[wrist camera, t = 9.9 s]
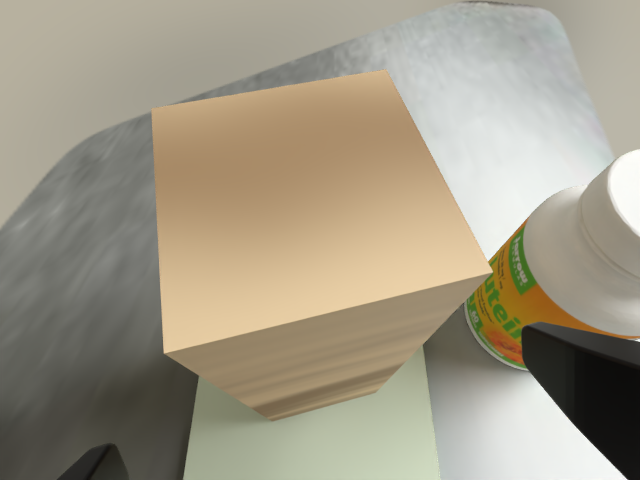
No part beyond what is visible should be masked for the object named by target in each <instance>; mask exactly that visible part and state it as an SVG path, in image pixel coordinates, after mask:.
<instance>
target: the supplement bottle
mask: <svg viewBox="0 0 640 480" xmlns="http://www.w3.org/2000/svg"><path fill="white" fill-rule="evenodd" d="M488 263H489V265H490V267H491V269H492V271H493V273H492V274H491V275H490V276H489V277H488V278H487V279H486V280H485V281H484V282H483V283H482V284H481V285H480V286H479V287H478V288H477V289H476V290H475V291H474V292H473V293H472V294H471V295H470V297H469V298H468V299H467V300H466V301H465V302H464V308H465V316H466V320H467V323H468V325H469V328H470V330H471V332H472V333H473V335H474V337H475V338H476V340H477V341H478V342H479V344H480V345H481V346H482V347H483V348H484V349H485V350H486V351H487V352H488V353H489V354H491V355H492V356H493V357H495V358H496V359H498V360H499V361H501V362H503V363H504V364H506V365H509V366H511V367H514V368H517V369H521V370H526V371H529V370H528V369H527V368H526V366H525V364H524V362H523V359H522V346H521V330H522V327H524V326H525V325H528V324H531V323H535V322H546V323H551V324H555V325H560V326H565V327H570V328H575V329H580V330H585V331H589V332H594V333H599V334H604V335H609V336H614V337H619V338H623V339H628V340H633V341H635V340H638V339H640V150H634V151H631V152H629V153H626V154H624V155H622V156H620V157H619V158H617V159H616V160H614V161H613V162H612V163H611V164H610V165H609V166H608V167H607V168H606V169H605V170H603V171H602V172H601V173H600V174H599V175H598V176H597V177H596V178H595V179H593V180H592V182H591V183H590V184H589V185H582V186H576V187H571V188H568V189H565V190H562V191H560V192H558V193H556V194H554V195H552V196H551V197H549V198H548V199H546V200H545V201H544V202H543V203H542V204H541V205H540V206H539V207H538V208H537V209H535V210H534V211H533V212H532V214H531V215H530V216H529V217H528V218H527V219H526V220H525V221H524V223H523V224H522V225H521V226H520V227H519V228H518V229H517V230H516V232H515V233H514V234H513V235H512V236H511V237H510V238H509V239H508V240H507V241H506V243H505V244H504V245H503V246H502V247H501V248H500V249H499V250H498V251H497V252H496V254H495V255H494V256H493V257H492V258H491V259H490V260H489V261H488Z"/></svg>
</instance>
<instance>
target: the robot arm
mask: <svg viewBox="0 0 640 480" xmlns="http://www.w3.org/2000/svg"><path fill="white" fill-rule="evenodd" d="M521 346H522V359H523V362H524V364H525V366H526V368H527V369H528V370H529V372H530V373H531V374H532V375H533V376H534V378H535V379H536V380H537V381H538V382H539V384H540V385H541V386H542V387H543V388H544V390H545V391H546V392H547V393H548V394H549V396H550V397H551V398H552V399H553V401H554V402H555V403H556V404H557V405H558V407H559V408H560V409H561V410H562V411H563V413H564V414H565V415H566V416H567V417H568V418H569V420H570V421H571V422H572V423H573V424H574V425H575V426H576V427H577V428H578V430H579V431H580V432H581V433H582V434H583V435H584V436H585V437H586V438H587V439H588V440H589V441H590V442H591V443H592V444H593V445H594V446H595V447H596V448H597V449H598V450H599V451H600V452H601V453H602V454H603V455H604V456H605V457H606V458H607V459H608V460H609V461H610V462H611V463H612V464H613V465H614V466H615V467H616V468H617V469H618V470H619V471H620V472H621V473H622V474H623V475H624V476H625V478H626V479H627V480H640V342H638V341H633V340H628V339H623V338H619V337H614V336H609V335H604V334H599V333H594V332H589V331H585V330H580V329H575V328H570V327H565V326H560V325H555V324H551V323H546V322H535V323H531V324H528V325H525V326H524V327H522V330H521ZM57 480H129V475H128V472H127V469H126V467H125V465H124V462H123V460H122V457H121V455H120V453H119V450H118V448H117V446H116V445H115V444H113V443H108V444H105V445H101V446H98V447H94V448H92V449H90V450H89V451H87V452H86V453H85V454H84V455H83V456H82V457H81V458H80V459H79V460H78V461H77V462H75V463H74V464H73V465H72V466H71V467H70V468H69V469H68V470H67V471H66V472H65V473H63V474H62V475H61V476H60V477H59V478H58V479H57Z"/></svg>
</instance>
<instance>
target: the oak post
mask: <svg viewBox="0 0 640 480" xmlns="http://www.w3.org/2000/svg"><path fill="white" fill-rule="evenodd" d="M152 129H153V149H154V169H155V188H156V208H157V228H158V247H159V267H160V287H161V307H162V326H163V346H164V354H165V355H167V356H169V357H170V358H172V359H173V360H175V361H177V362H178V363H180V364H181V365H183V366H185V367H186V368H188V369H189V370H191V371H192V372H194V373H196V374H197V375H199V376H200V377H202V378H204V379H205V380H207V381H208V382H210V383H212V384H213V385H215V386H216V387H218V388H220V389H221V390H223V391H224V392H226V393H228V394H229V395H231V396H232V397H234V398H235V399H237V400H239V401H240V402H242V403H243V404H245V405H247V406H248V407H250V408H251V409H253V410H255V411H256V412H258V413H259V414H261V415H263V416H264V417H266V418H267V419H269V420H271V421H272V422H273V421H276V420H280V419H284V418H287V417H291V416H294V415H298V414H302V413H305V412H309V411H312V410H316V409H320V408H323V407H327V406H330V405H334V404H337V403H341V402H345V401H348V400H352V399H355V398H359V397H363V396H366V395H370V394H373V393H376V392H377V391H378V390H379V389H380V388H381V387H382V386H383V385H384V384H385V383H386V382H387V381H388V379H389V378H390V377H391V376H392V375H393V374H394V373H395V372H396V371H397V370H398V369H399V368H400V367H401V366H402V365H403V364H404V363H405V362H406V361H407V360H408V359H409V358H410V357H411V356H412V355H413V354H414V353H415V352H416V351H417V350H418V349H419V348H420V347H421V346H422V345H423V344H424V343H425V342H426V341H427V340H428V339H429V337H430V336H431V335H432V334H433V333H434V332H435V331H436V330H437V329H438V328H439V327H440V326H441V325H442V324H443V323H444V322H445V321H446V320H447V319H448V318H449V317H450V316H451V315H452V314H453V313H454V312H455V311H456V310H457V309H458V308H459V307H460V306H461V305H462V304H463V303H464V302H465V301H466V300H467V299H468V298H469V297H470V295H471V294H472V293H473V292H474V291H475V290H476V289H477V288H478V287H479V286H480V285H481V284H482V283H483V282H484V281H485V280H486V279H487V278H488V277H489V276H490V275H491V274H492V273H493V271H492V269H491V267H490V265H489V263H488V261H487V259H486V258H485V256H484V254H483V252H482V250H481V248H480V246H479V244H478V242H477V240H476V239H475V237H474V235H473V233H472V231H471V229H470V227H469V225H468V223H467V221H466V220H465V218H464V216H463V214H462V212H461V210H460V208H459V206H458V204H457V203H456V201H455V199H454V197H453V195H452V193H451V191H450V189H449V187H448V185H447V184H446V182H445V180H444V178H443V176H442V174H441V172H440V170H439V168H438V166H437V165H436V163H435V161H434V159H433V157H432V155H431V153H430V151H429V149H428V148H427V146H426V144H425V142H424V140H423V138H422V136H421V134H420V132H419V130H418V129H417V127H416V125H415V123H414V121H413V119H412V117H411V115H410V113H409V111H408V110H407V108H406V106H405V104H404V102H403V100H402V98H401V96H400V94H399V92H398V91H397V89H396V87H395V85H394V83H393V81H392V79H391V77H390V75H389V74H388V72H387V70H386V69H385V70H379V71H373V72H367V73H361V74H355V75H349V76H343V77H337V78H331V79H325V80H319V81H313V82H307V83H301V84H295V85H289V86H283V87H277V88H271V89H265V90H259V91H253V92H247V93H241V94H235V95H229V96H223V97H217V98H211V99H205V100H199V101H193V102H187V103H181V104H175V105H169V106H163V107H157V108H152Z"/></svg>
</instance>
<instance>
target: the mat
mask: <svg viewBox="0 0 640 480" xmlns="http://www.w3.org/2000/svg"><path fill="white" fill-rule="evenodd" d="M183 480H440V473H439V465H438V457H437V450H436V442H435V434H434V427H433V419H432V411H431V404H430V396H429V388H428V381H427V373H426V365H425V357H424V350H423V345H422V346H421V347H420V348H419V349H418V350H417V351H416V352H415V353H414V354H413V355H412V356H411V357H410V358H409V359H408V360H407V361H406V362H405V363H404V364H403V365H402V366H401V367H400V368H399V369H398V370H397V371H396V372H395V373H394V374H393V375H392V376H391V377H390V378H389V379H388V381H387V382H386V383H385V384H384V385H383V386H382V387H381V388H380V389H379V390H378V391H377V392H376V393H373V394H370V395H366V396H363V397H359V398H355V399H352V400H348V401H345V402H341V403H337V404H334V405H330V406H327V407H323V408H320V409H316V410H312V411H309V412H305V413H302V414H298V415H294V416H291V417H287V418H284V419H280V420H276V421H273V422H272V421H271V420H269V419H267V418H266V417H264V416H263V415H261V414H259V413H258V412H256V411H255V410H253V409H251V408H250V407H248V406H247V405H245V404H243V403H242V402H240V401H239V400H237V399H235V398H234V397H232V396H231V395H229V394H228V393H226V392H224V391H223V390H221V389H220V388H218V387H216V386H215V385H213V384H212V383H210V382H208V381H207V380H205V379H204V378H202V377H200V376H199V380H198V386H197V393H196V399H195V406H194V412H193V419H192V425H191V432H190V438H189V445H188V451H187V458H186V464H185V471H184V477H183Z"/></svg>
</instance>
